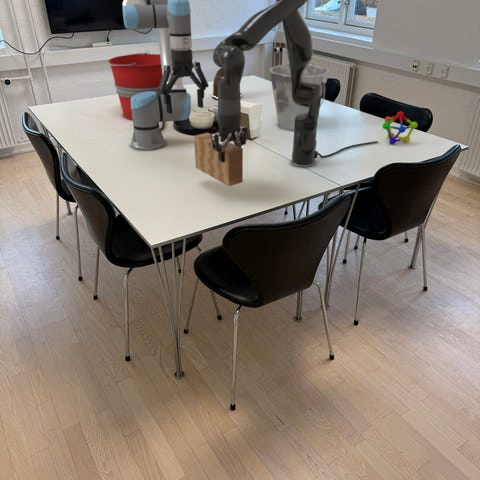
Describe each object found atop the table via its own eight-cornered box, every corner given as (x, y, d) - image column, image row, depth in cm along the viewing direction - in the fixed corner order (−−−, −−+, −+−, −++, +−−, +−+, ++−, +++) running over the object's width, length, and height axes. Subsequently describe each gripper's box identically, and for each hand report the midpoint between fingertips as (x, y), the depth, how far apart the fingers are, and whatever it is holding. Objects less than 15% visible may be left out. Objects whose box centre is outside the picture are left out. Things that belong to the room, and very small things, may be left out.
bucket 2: (296, 138, 215) (301, 78, 201) (255, 124, 234) (256, 68, 219) (335, 125, 232) (342, 70, 217) (294, 113, 251) (297, 61, 236)
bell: (227, 105, 294) (202, 96, 282) (238, 66, 289) (213, 55, 277) (243, 108, 280) (217, 98, 268) (255, 66, 275) (229, 55, 263)
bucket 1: (122, 105, 264) (115, 51, 248) (181, 105, 263) (177, 51, 248) (106, 122, 235) (96, 62, 219) (171, 123, 234) (167, 63, 218)
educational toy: (377, 146, 209) (379, 114, 202) (384, 138, 219) (386, 107, 211) (411, 149, 202) (415, 116, 195) (417, 141, 212) (420, 109, 204)
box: (195, 167, 167) (193, 135, 161) (208, 164, 171) (207, 132, 164) (229, 186, 153) (228, 152, 147) (242, 182, 157) (242, 148, 150)
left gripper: (154, 53, 146) (160, 117, 157) (216, 47, 159) (218, 106, 170) (144, 50, 151) (150, 113, 162) (205, 45, 165) (207, 103, 175)
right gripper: (218, 117, 138) (219, 167, 147) (253, 109, 145) (252, 158, 154) (204, 112, 143) (206, 161, 152) (239, 104, 150) (239, 151, 159)
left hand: (185, 110), depth 166 cm, fingers open, 13 cm apart
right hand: (229, 159), depth 153 cm, fingers closed on box, 6 cm apart
